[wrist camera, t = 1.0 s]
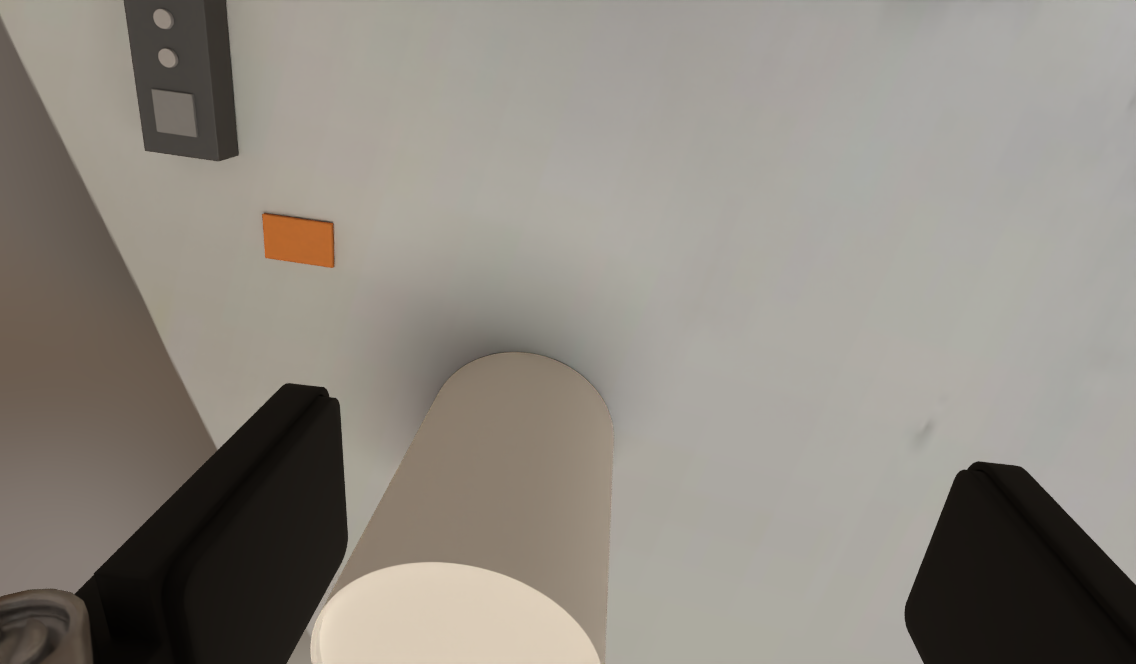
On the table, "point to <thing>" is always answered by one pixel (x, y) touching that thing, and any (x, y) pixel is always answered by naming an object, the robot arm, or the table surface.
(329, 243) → the tiles
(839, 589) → the table surface
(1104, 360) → the table surface
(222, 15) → the remote
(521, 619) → the canister
